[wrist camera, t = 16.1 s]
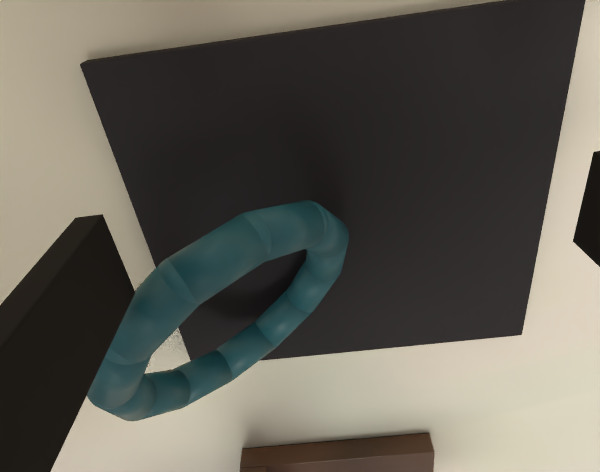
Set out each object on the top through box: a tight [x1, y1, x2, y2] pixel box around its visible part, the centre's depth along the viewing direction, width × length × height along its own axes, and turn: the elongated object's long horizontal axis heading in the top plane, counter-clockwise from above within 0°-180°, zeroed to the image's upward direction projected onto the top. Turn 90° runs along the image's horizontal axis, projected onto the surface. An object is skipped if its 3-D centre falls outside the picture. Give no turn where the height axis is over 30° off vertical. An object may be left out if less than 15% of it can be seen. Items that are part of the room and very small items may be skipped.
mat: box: [80, 0, 585, 361], centre depth 22 cm, size 20×18×1 cm
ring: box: [87, 200, 349, 421], centre depth 19 cm, size 2×12×12 cm
